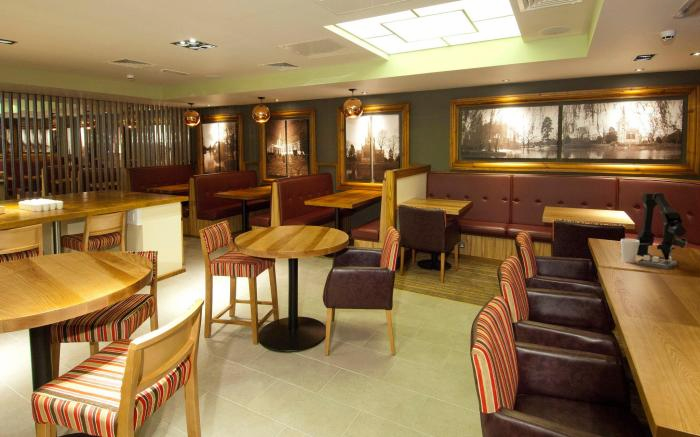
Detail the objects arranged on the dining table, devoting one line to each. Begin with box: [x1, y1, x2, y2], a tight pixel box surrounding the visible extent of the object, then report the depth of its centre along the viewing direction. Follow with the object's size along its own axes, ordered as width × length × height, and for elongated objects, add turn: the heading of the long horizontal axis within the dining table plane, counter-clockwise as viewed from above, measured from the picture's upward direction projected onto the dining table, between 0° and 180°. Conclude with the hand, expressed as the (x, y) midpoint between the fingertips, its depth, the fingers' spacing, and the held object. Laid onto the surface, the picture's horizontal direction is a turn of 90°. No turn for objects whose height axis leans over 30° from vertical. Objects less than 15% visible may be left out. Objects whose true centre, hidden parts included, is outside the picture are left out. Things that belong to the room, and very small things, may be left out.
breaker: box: [642, 255, 651, 261], centre depth 252 cm, size 2×3×3 cm
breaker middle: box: [652, 255, 660, 262], centre depth 249 cm, size 2×3×3 cm
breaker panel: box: [637, 256, 678, 270], centre depth 251 cm, size 16×15×2 cm
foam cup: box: [620, 238, 640, 264], centre depth 258 cm, size 10×9×13 cm
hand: (666, 259), depth 248 cm, fingers closed
